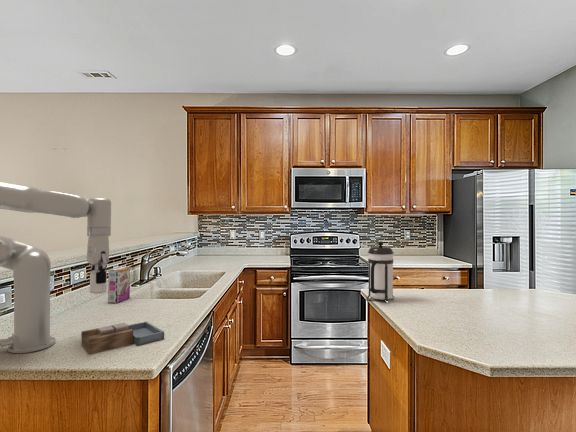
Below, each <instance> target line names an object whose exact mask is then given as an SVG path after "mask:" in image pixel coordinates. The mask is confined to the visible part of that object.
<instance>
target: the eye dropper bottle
mask: <svg viewBox="0 0 576 432" xmlns="http://www.w3.org/2000/svg"><path fill="white" fill-rule="evenodd" d="M99 263H102V262H99ZM100 266H101V265H100ZM100 266H99V268H100ZM96 272H97V264H95V270H93V271H91V270H90V273H89V293H90V294H94V295H95V294H97V295H98V294H99V295H100V294H105V293H107V289H108V287H107V286H108V285H107V282H108V281H107V279H108V277H107V276H108V274H107V272H106V283H101V284H96Z"/></svg>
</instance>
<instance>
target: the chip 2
mask: <svg viewBox="0 0 576 432" xmlns="http://www.w3.org/2000/svg"><path fill="white" fill-rule="evenodd" d="M128 325H129V324H127V323H126V322H121V323H116V324H112V327H113V328H114V333H117V332H121V331H126V330H128Z"/></svg>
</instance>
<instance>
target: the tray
mask: <svg viewBox="0 0 576 432" xmlns="http://www.w3.org/2000/svg"><path fill="white" fill-rule="evenodd" d="M127 325H128V330H130V329H132V330H133V344H134V345H136V346H141V345H145V344H146V345H147V344H149V343H153V342H157V341H161V340H165V331H163V330H162V329H160V328H158V327H157V326H155V325H153V324H152V323H150V322H148V321H142V322H138V323H133V324H127Z"/></svg>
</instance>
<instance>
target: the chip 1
mask: <svg viewBox="0 0 576 432" xmlns="http://www.w3.org/2000/svg"><path fill="white" fill-rule="evenodd" d="M96 328H97V336H103V335H107V334H112V333H114V328H113V327H112V326H111V325H107V326H106V325H105V326H102V327H96Z"/></svg>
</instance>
